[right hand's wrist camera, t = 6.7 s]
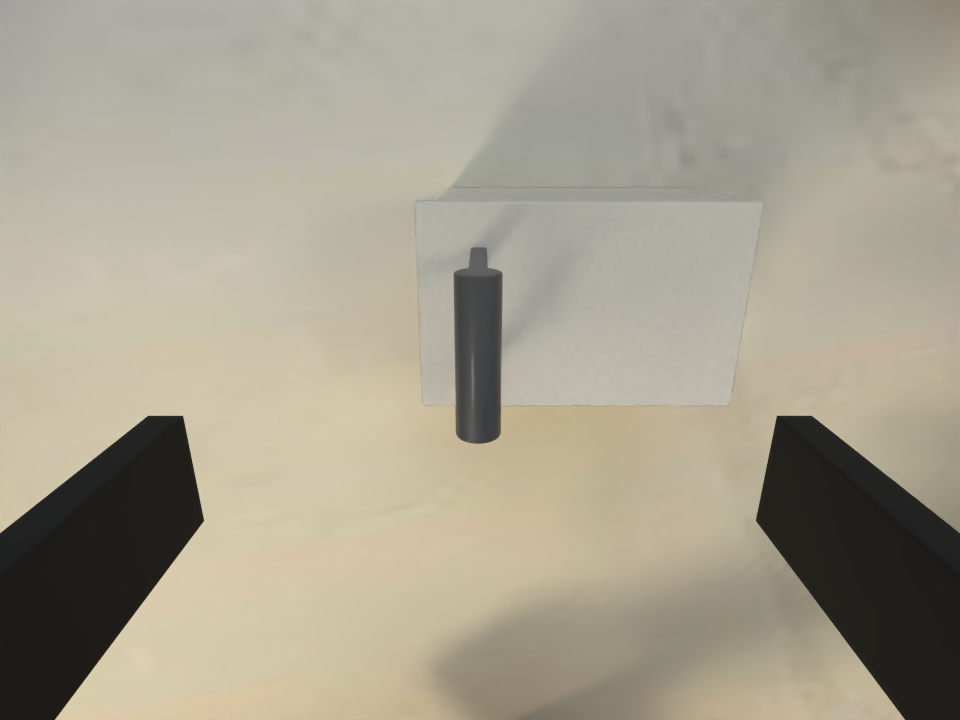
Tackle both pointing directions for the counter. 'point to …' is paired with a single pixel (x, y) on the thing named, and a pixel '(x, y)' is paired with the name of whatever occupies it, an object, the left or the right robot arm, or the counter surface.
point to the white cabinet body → (581, 194)
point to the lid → (580, 303)
